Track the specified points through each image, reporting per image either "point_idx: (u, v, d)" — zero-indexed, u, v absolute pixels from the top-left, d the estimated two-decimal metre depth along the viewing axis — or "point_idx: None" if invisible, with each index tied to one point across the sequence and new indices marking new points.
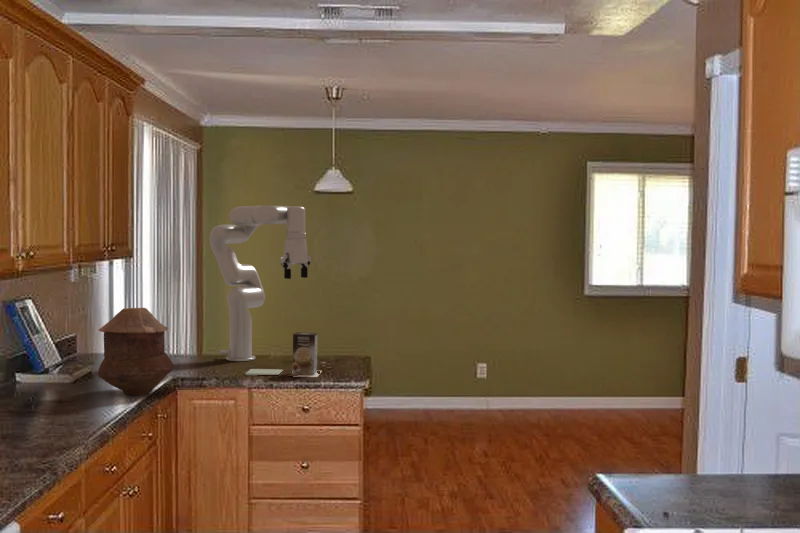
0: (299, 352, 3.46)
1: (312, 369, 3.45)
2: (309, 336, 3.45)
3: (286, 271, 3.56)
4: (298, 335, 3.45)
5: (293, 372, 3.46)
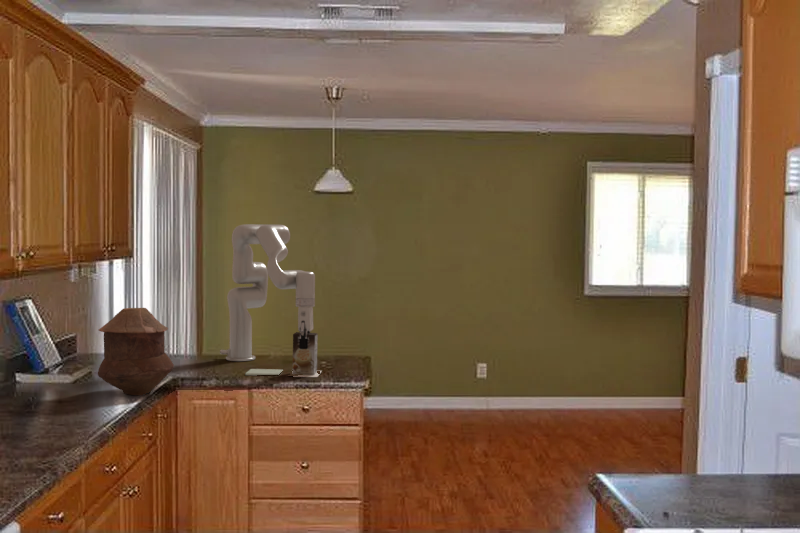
0: (299, 352, 3.46)
1: (312, 369, 3.45)
2: (309, 336, 3.45)
3: None
4: (298, 335, 3.45)
5: (293, 372, 3.46)
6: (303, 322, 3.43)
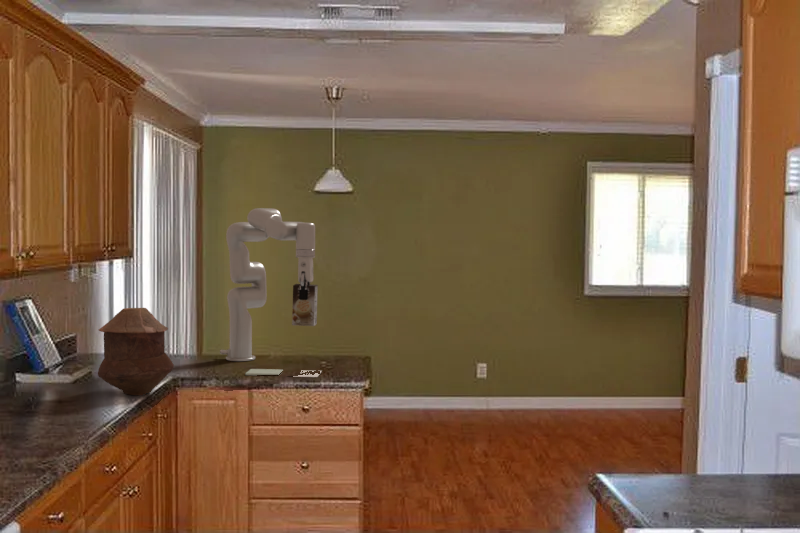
0: (299, 303, 3.45)
1: (312, 320, 3.45)
2: (309, 287, 3.44)
3: None
4: (298, 286, 3.44)
5: (293, 323, 3.46)
6: (303, 273, 3.42)
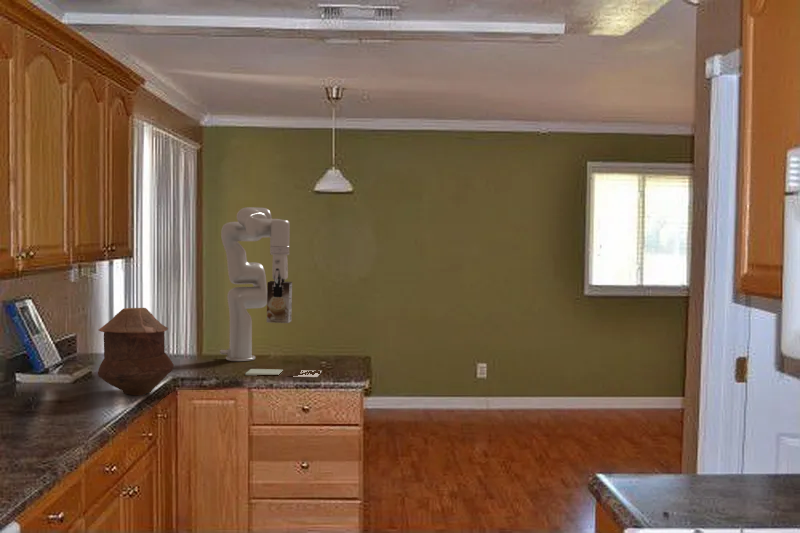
0: (273, 300, 3.44)
1: (286, 317, 3.44)
2: (283, 284, 3.44)
3: None
4: (272, 283, 3.44)
5: (267, 320, 3.45)
6: (277, 270, 3.42)
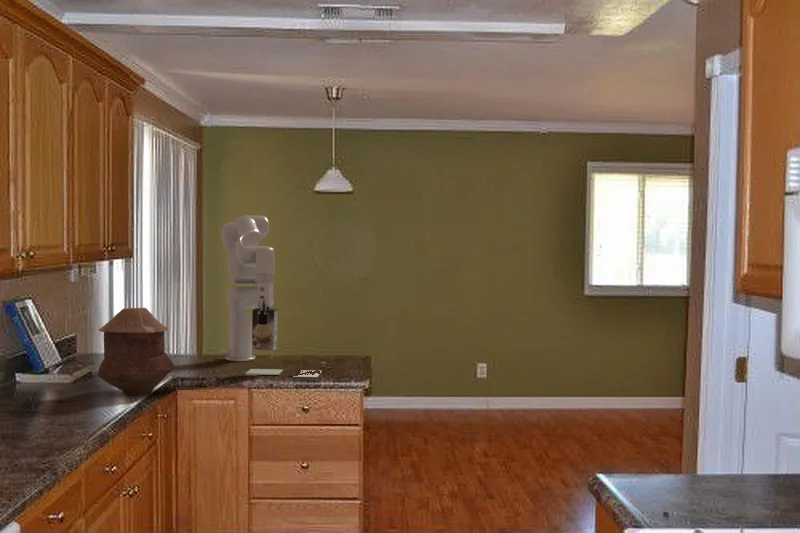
0: (258, 327, 3.45)
1: (271, 345, 3.45)
2: (268, 311, 3.44)
3: None
4: (257, 311, 3.44)
5: (253, 348, 3.45)
6: (262, 297, 3.42)
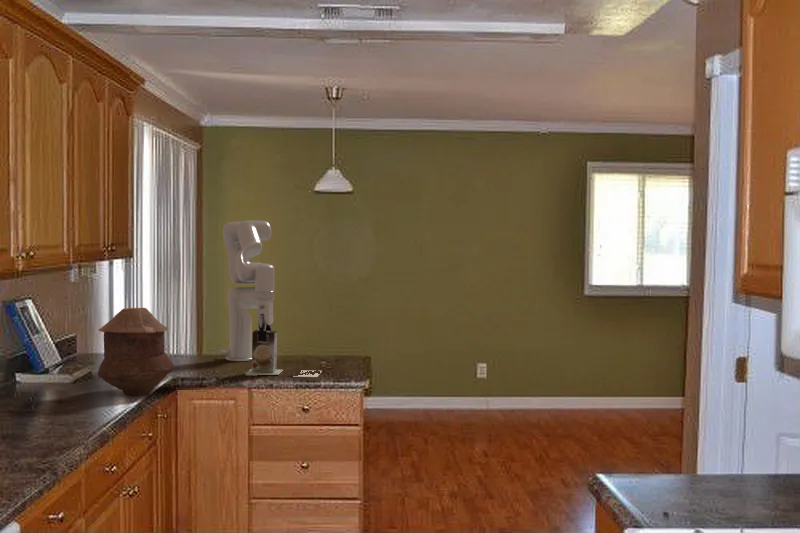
0: (258, 350, 3.45)
1: (271, 367, 3.45)
2: (269, 334, 3.45)
3: None
4: None
5: (252, 370, 3.46)
6: (262, 314, 3.42)
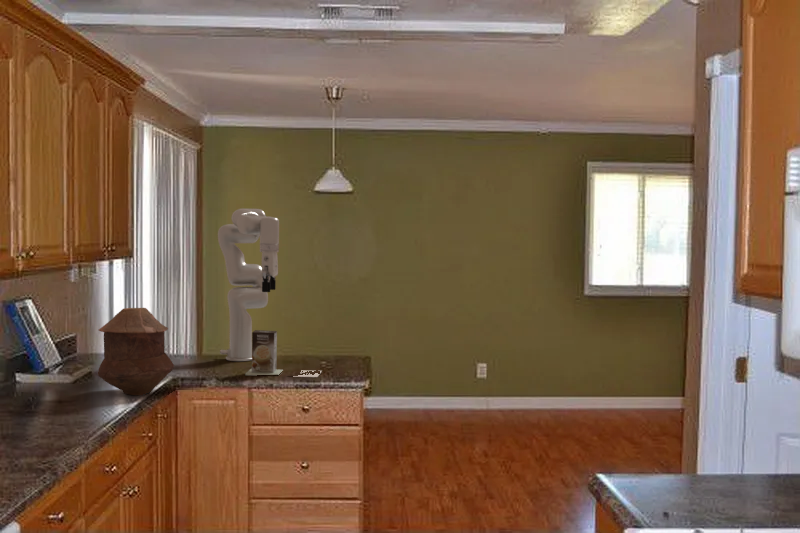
0: (258, 350, 3.45)
1: (271, 367, 3.45)
2: (268, 334, 3.45)
3: None
4: (257, 333, 3.45)
5: (252, 370, 3.46)
6: (266, 266, 3.45)
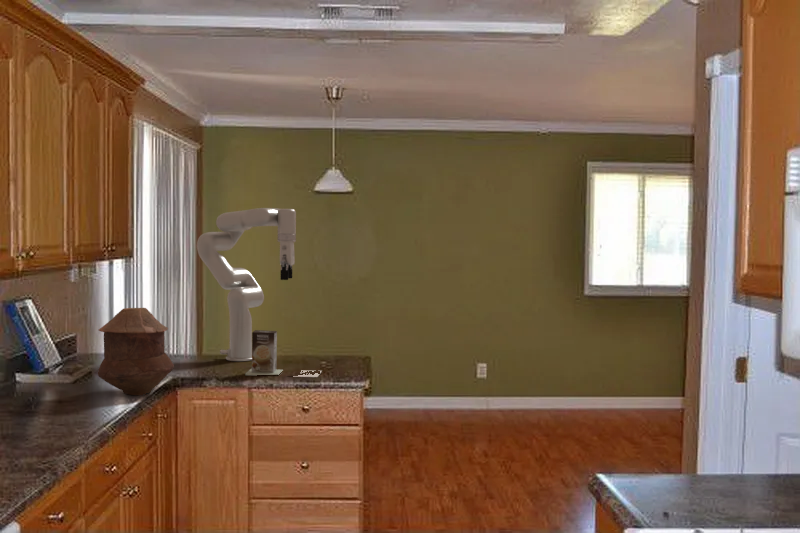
0: (258, 350, 3.45)
1: (271, 367, 3.45)
2: (268, 334, 3.45)
3: None
4: (257, 333, 3.45)
5: (252, 370, 3.46)
6: (284, 255, 3.62)
